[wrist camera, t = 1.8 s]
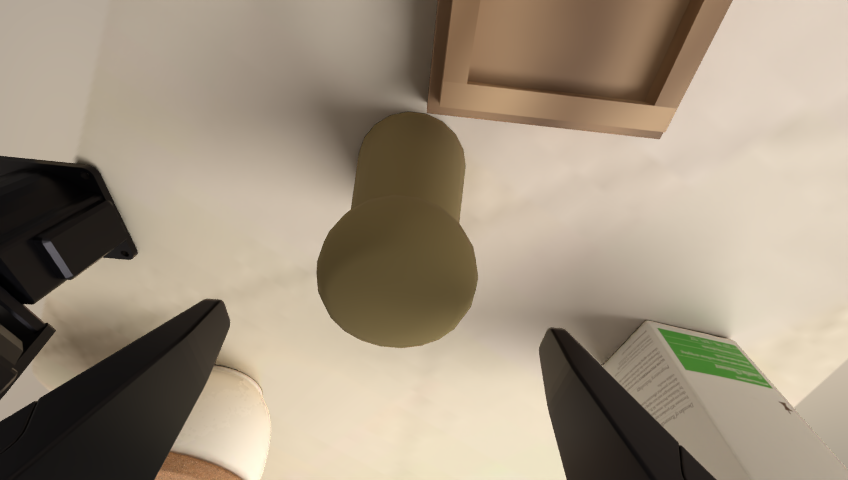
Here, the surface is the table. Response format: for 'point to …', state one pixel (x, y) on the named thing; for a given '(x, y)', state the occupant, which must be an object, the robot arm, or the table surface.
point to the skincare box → (720, 406)
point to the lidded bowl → (222, 432)
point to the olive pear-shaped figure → (401, 238)
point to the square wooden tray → (570, 61)
